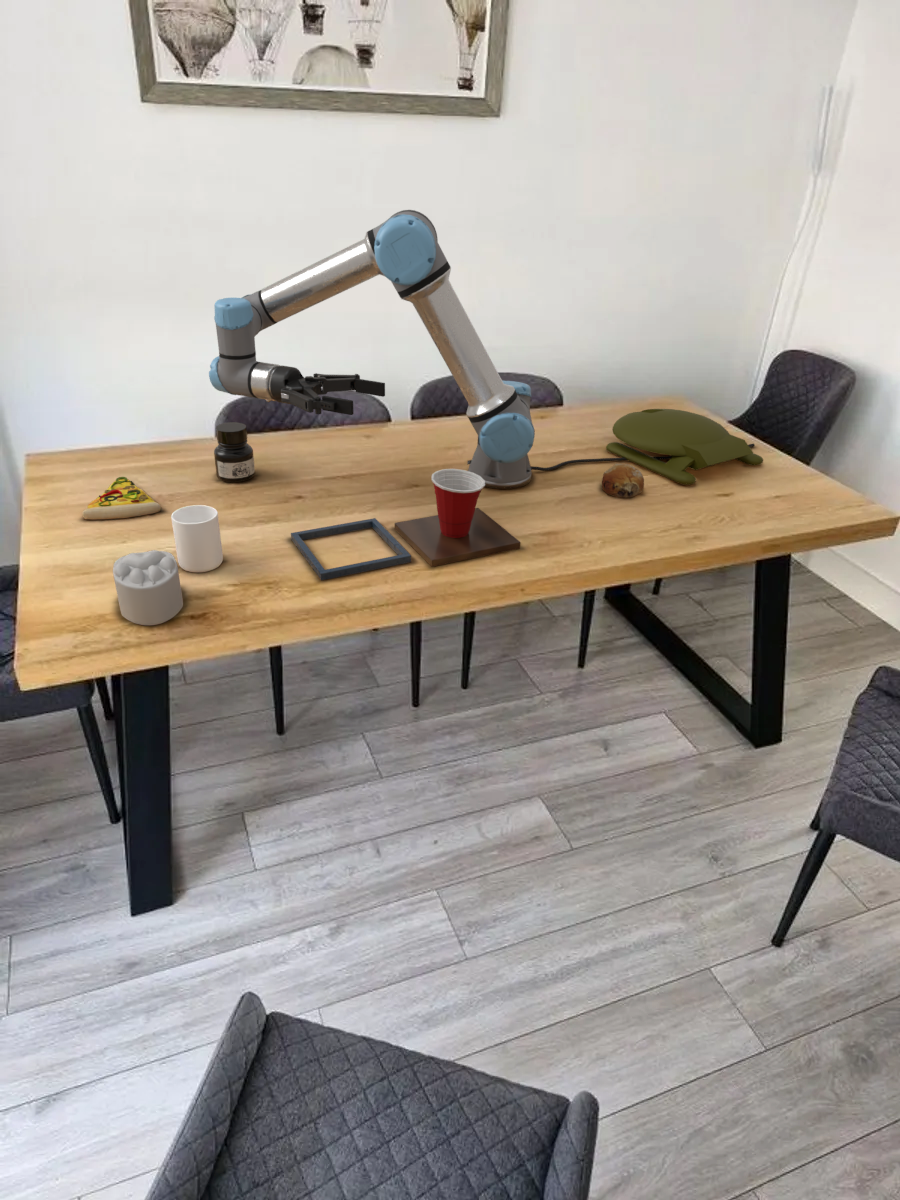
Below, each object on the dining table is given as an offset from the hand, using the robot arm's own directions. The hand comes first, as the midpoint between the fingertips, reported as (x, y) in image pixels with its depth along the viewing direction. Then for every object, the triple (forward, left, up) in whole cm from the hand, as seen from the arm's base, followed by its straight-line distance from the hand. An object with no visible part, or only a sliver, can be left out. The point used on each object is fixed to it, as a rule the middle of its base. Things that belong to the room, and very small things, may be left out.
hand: (369, 398), depth 165 cm
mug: (+38, +6, -26) cm, 46 cm away
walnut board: (-12, +17, -26) cm, 33 cm away
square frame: (+10, +14, -26) cm, 31 cm away
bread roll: (-60, +10, -26) cm, 66 cm away
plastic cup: (-12, +17, -24) cm, 32 cm away
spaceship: (-88, -4, -26) cm, 92 cm away
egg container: (+49, +20, -26) cm, 59 cm away
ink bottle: (+21, -32, -26) cm, 46 cm away
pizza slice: (+47, -28, -26) cm, 61 cm away
